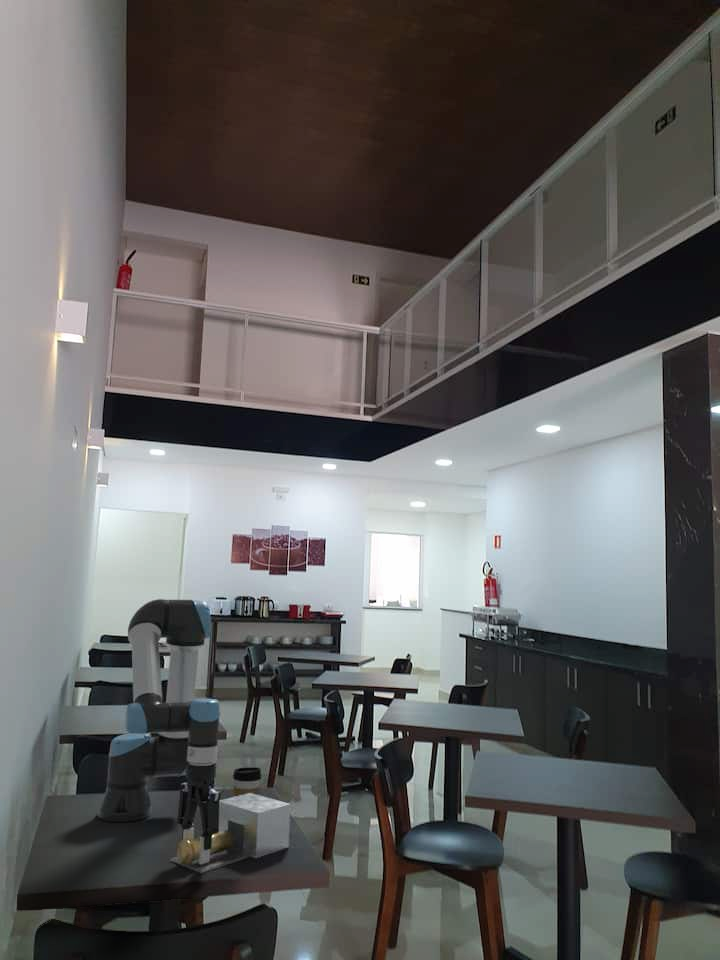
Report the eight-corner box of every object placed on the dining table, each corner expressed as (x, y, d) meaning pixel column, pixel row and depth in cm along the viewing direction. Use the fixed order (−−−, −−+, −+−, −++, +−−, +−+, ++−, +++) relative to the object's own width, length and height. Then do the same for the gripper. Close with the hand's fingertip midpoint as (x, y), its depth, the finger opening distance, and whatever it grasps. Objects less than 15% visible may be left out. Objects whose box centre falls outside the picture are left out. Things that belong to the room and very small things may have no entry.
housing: (165, 859, 186) (168, 813, 188) (248, 833, 208) (250, 792, 210) (206, 875, 176) (209, 826, 178) (288, 847, 198) (290, 804, 200)
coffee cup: (253, 827, 214) (256, 773, 216) (226, 824, 216) (229, 770, 218) (263, 818, 222) (265, 766, 224) (236, 816, 224) (239, 764, 226)
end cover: (176, 861, 183) (177, 837, 184) (219, 848, 193) (220, 825, 194) (190, 867, 179) (191, 843, 180) (233, 853, 190) (234, 830, 191)
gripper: (166, 758, 191) (160, 853, 187) (214, 771, 179) (208, 873, 175) (189, 754, 196) (184, 846, 193) (237, 766, 184) (232, 865, 181)
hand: (195, 859), depth 184 cm, fingers open, 6 cm apart
